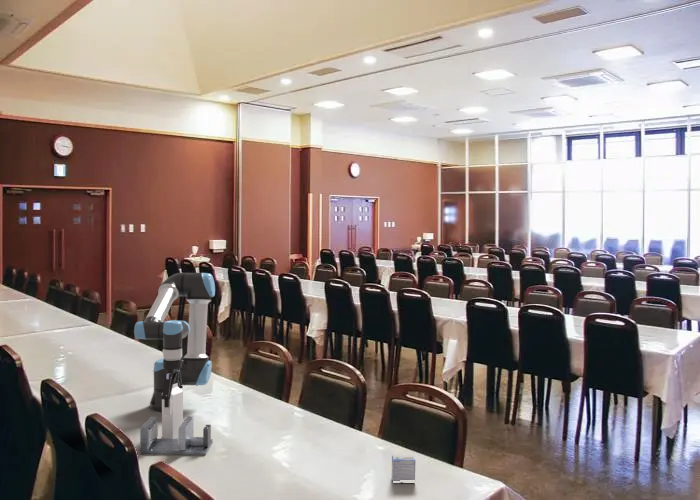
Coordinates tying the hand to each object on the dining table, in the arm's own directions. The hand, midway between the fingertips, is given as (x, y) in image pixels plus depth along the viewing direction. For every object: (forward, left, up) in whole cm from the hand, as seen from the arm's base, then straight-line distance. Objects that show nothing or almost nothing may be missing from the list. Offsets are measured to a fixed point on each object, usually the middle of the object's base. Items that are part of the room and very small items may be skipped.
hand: (172, 409), depth 236 cm
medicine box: (+38, +92, -12) cm, 100 cm away
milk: (0, 0, -12) cm, 12 cm away
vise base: (+12, +5, -12) cm, 17 cm away
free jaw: (+12, +13, -10) cm, 20 cm away
